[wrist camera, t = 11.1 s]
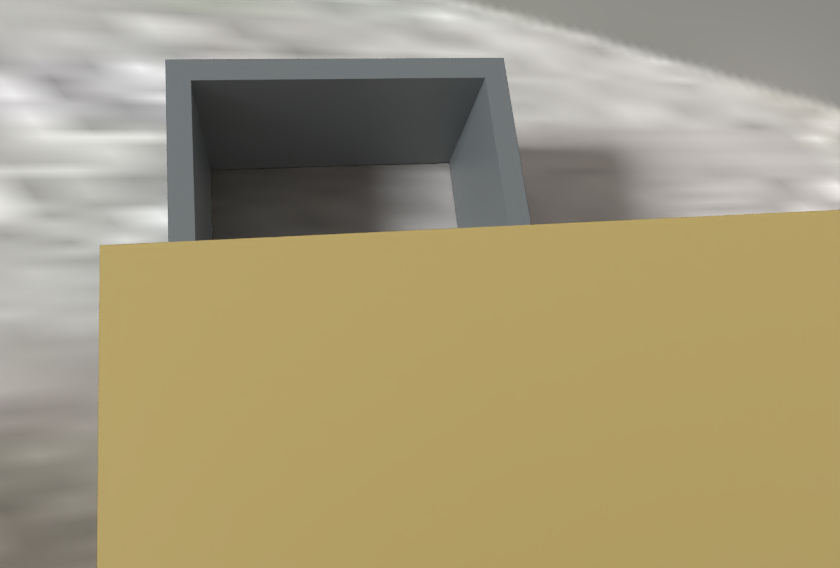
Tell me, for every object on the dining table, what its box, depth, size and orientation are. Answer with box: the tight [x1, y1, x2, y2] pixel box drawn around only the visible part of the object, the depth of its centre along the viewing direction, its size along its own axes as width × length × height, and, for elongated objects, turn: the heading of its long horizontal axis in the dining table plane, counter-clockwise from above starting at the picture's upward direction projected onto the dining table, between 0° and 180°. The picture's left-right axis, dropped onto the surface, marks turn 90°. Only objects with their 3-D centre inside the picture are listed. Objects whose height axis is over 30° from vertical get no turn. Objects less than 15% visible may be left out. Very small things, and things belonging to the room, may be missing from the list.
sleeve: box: [165, 58, 531, 242], centre depth 21 cm, size 9×9×5 cm
